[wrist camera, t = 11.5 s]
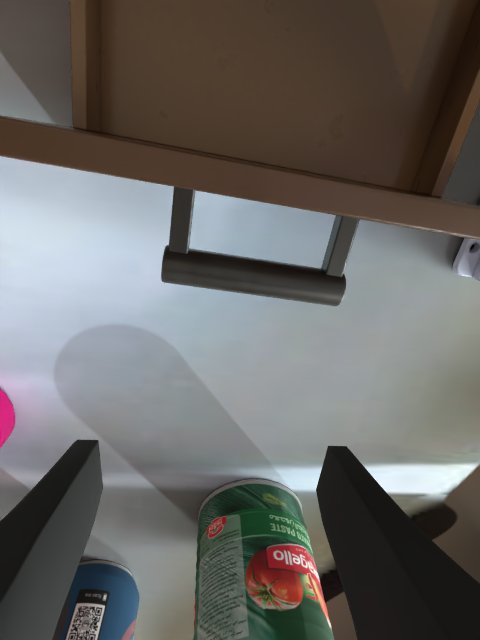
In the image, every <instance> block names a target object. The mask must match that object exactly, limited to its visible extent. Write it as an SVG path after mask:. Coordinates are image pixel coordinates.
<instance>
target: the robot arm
mask: <svg viewBox="0 0 480 640" xmlns="http://www.w3.org/2000/svg"><path fill="white" fill-rule="evenodd" d="M479 206H480V204H479ZM474 243H475V246H474V248H473V249H472V250H471V251H470V247H471V245H472V244H474ZM453 271H454V272H455V273H457V274H459V275H461V276H468V277H473V278H475V279H477V280H479V281H480V240H476V239H470V238H464V241H463V243H462V245H461V247H460V250H459V252H458V254H457V257H456V259H455V261H454V263H453ZM102 489H103V483H102V473H101V463H100V453H99V442H98V440H77V441H75V442H74V443H73V444H72V445H71V447H70V448H69V449H68V450H67V451H66V452H65V453H64V455H63V456H62V457H61V458H60V459H59V460H58V462H57V463H56V464H55V465H54V466H53V467H52V468H51V469H50V470H49V472H48V473H47V474H46V475H45V476H44V477H43V478H42V479H41V480H40V481H39V482H38V484H37V485H36V486H35V487H34V488H33V489H32V490H31V491H30V492H29V493H28V494H27V495H26V496H25V497H24V498H23V499H22V500H21V501H20V502H19V503H18V504H17V505H16V507H15V508H14V509H12V510H11V511H10V512H9V513H8V514H7V515H6V516H5V517H4V518H3V519H2V520H1V521H0V640H52V639H53V636H54V632H55V629H56V626H57V623H58V620H59V617H60V614H61V611H62V608H63V605H64V603H65V600H66V597H67V595H68V592H69V589H70V587H71V584H72V581H73V579H74V576H75V573H76V570H77V568H78V565H79V562H80V560H81V557H82V554H83V552H84V549H85V546H86V543H87V541H88V538H89V535H90V533H91V530H92V527H93V524H94V521H95V517H96V513H97V509H98V506H99V502H100V497H101V493H102ZM316 492H317V497H318V502H319V508H320V512H321V517H322V522H323V526H324V529H325V532H326V535H327V539H328V542H329V545H330V548H331V551H332V554H333V558H334V561H335V564H336V567H337V570H338V573H339V576H340V579H341V583H342V586H343V589H344V592H345V595H346V598H347V601H348V604H349V608H350V612H351V615H352V619H353V622H354V626H355V631H356V635H357V639H358V640H480V583H478V582H477V581H476V580H475V579H474V578H472V577H471V576H470V575H469V574H468V573H467V572H466V571H464V570H463V569H462V568H461V567H460V566H459V565H458V564H457V563H456V562H454V561H453V560H452V559H451V558H450V557H449V556H448V555H447V554H446V553H445V552H444V551H442V550H441V549H440V548H439V547H438V546H437V545H436V544H435V543H434V542H433V541H432V540H431V539H430V538H429V537H428V536H427V535H426V534H425V533H424V532H423V531H422V530H421V529H420V528H419V527H418V526H417V525H416V524H415V523H414V522H413V521H412V520H411V519H410V518H409V517H408V516H407V515H406V514H405V513H404V512H403V510H402V509H401V508H400V507H399V506H398V505H397V504H396V503H395V502H394V501H393V499H392V498H391V497H390V496H389V495H388V494H387V493H386V492H385V491H384V489H383V488H382V487H381V486H380V485H379V484H378V483H377V481H376V480H375V479H374V478H373V477H372V476H371V474H370V473H369V472H368V471H367V470H366V469H365V467H364V466H363V465H362V464H361V463H360V462H359V460H358V459H357V458H356V457H355V456H354V455H353V453H352V452H351V451H350V450H349V449H348V448H347V446H328V449H327V452H326V456H325V460H324V463H323V467H322V471H321V474H320V478H319V482H318V485H317V489H316Z"/></svg>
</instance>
